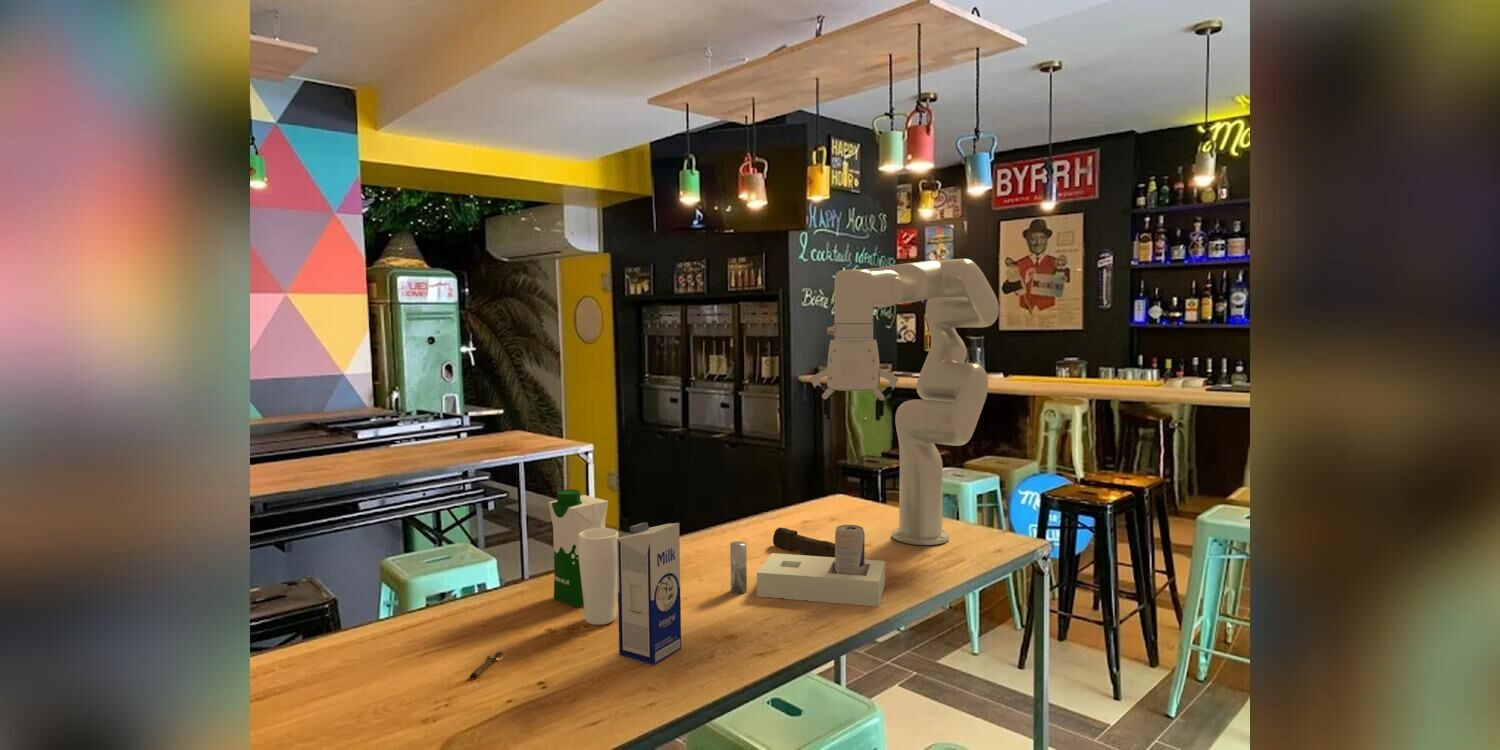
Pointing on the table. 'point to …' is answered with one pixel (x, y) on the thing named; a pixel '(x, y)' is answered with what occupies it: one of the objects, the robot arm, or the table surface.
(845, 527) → the energy drink
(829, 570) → the socket block
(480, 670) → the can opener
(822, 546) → the hand tool
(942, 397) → the robot arm
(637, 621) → the milk carton
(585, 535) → the drinking glass
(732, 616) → the table surface
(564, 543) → the soya milk
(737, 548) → the grey metal peg
